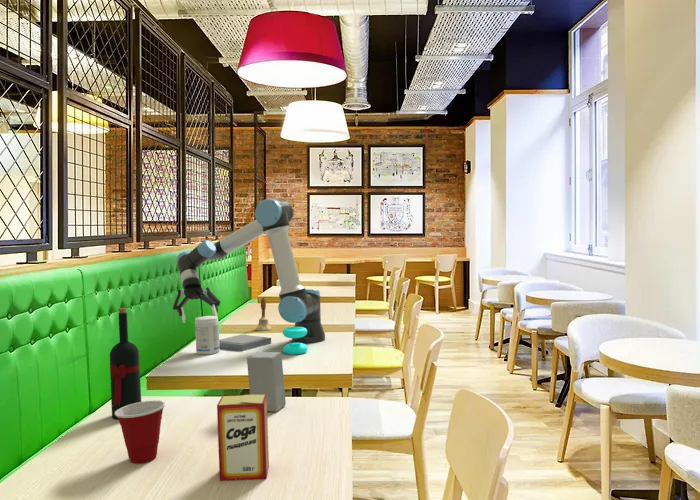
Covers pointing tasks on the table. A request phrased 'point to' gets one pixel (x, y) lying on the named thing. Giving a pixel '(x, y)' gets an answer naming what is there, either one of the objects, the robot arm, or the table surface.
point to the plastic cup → (141, 429)
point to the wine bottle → (124, 369)
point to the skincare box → (267, 378)
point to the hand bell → (263, 318)
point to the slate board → (243, 342)
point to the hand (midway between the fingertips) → (200, 319)
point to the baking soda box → (243, 437)
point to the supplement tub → (207, 335)
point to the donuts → (295, 347)
